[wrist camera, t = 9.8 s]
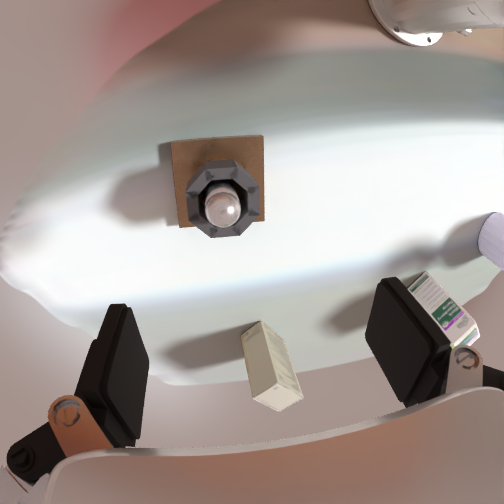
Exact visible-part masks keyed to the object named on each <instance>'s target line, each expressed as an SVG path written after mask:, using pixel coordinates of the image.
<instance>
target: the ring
mask: <svg viewBox="0 0 504 504" xmlns="http://www.w3.org/2000/svg"><path fill="white" fill-rule="evenodd" d="M220 179H233V180H235V181H236V182H237V183H238V184H239V185H240V186H242V187H243V194H244V198H243V199H242V201H241V202H240V205H241V213H240V216H239V218H238V220H237V221H236V222H235V223H234V224H233V225H231V226H229V227H217V226H215V225H213V224H212V223H210V222H209V220H208V219H207V217H206V214H205V205H204V204H203V203H201V202H200V192H201V191H202V190H203V189H204V188H205V187H206V185H207V184H208V183H209V182H210V181H211V180H220ZM185 193H186V202H187V212H188V221H190V222H191V223H192V224H194V225H195V226H196V227H197V228H199V229H200V230H201V231H203V232H204V233H205V234H207V235H208V236H209V237H210V238H216V237H228V236H240V235H241V234H242V233H243V232H244V231H245V230H246V229H247V228H248V227H249V225H250V224H251V223H252V222H253V221H254V220H255V219H256V218H257V217H258V216H259V215H260V206H259V185H258V184H257V182H256V180H255V179H254V177H253V176H252V175H251V174H250V173H249V172H247V171H246V170H245V169H244V168H243V167H242V166H241V165H239V164H238V163H237V162H236V161H235V160H234V159H227V160H213V161H206V162H205V163H204V164H203V165H202V166H201V167H200V168H199V170H198V171H197V172H196V173H195V174H194V175H193V176H192V178H191V179H190V180H189V181H188V184H187V188H186V192H185Z"/></svg>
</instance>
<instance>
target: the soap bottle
mask: <svg viewBox="0 0 504 504" xmlns="http://www.w3.org/2000/svg"><path fill="white" fill-rule="evenodd" d="M478 246H479V250H480V252H481V254H483V255H484V256H485V257H487V258H488V259H489V260H490V261H492V262H493V263H494V264H495V265H497V266H498V267H499V268H500V269H502V270H503V271H504V214H502V213H494V214H492V215H490V216H489V218H488V219H487V220H486V221H485V223H484V225H483V226H482V229H481V232H480V234H479V240H478Z"/></svg>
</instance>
